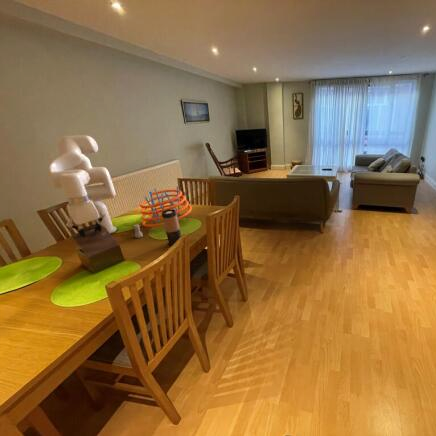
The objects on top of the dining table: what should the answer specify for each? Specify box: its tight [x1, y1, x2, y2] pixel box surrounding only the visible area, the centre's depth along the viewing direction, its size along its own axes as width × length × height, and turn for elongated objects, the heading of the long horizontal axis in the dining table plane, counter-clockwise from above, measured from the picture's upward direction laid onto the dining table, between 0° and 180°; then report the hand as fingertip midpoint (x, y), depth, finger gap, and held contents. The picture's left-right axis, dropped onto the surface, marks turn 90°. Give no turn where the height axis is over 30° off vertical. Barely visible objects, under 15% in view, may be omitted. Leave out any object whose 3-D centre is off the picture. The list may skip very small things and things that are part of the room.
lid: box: [70, 224, 120, 258], centre depth 119 cm, size 15×14×5 cm
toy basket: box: [139, 185, 193, 228], centre depth 173 cm, size 34×35×24 cm
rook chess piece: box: [133, 223, 144, 239], centre depth 152 cm, size 4×4×8 cm
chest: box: [75, 245, 125, 274], centre depth 124 cm, size 15×14×9 cm
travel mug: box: [161, 209, 182, 246], centre depth 141 cm, size 8×8×20 cm
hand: (91, 233), depth 120 cm, fingers closed on lid, 6 cm apart
